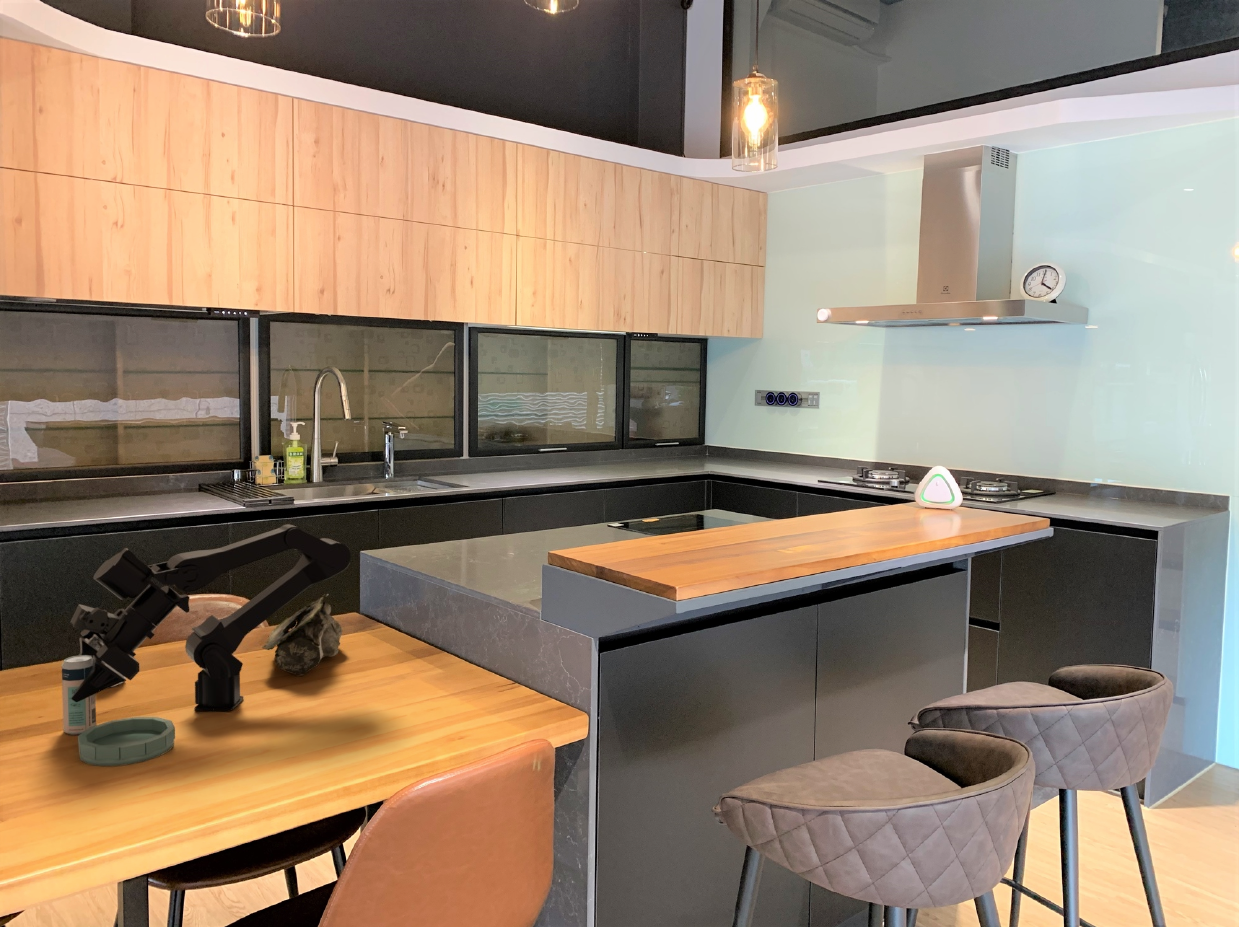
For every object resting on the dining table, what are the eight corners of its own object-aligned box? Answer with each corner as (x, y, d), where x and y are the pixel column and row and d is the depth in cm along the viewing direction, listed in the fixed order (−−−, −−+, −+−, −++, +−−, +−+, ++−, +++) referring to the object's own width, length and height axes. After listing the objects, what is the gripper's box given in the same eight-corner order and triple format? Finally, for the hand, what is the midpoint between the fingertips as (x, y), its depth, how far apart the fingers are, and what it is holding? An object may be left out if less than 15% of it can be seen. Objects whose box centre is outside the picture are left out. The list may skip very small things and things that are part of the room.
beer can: (89, 723, 156) (87, 652, 155) (101, 730, 153) (100, 658, 152) (57, 731, 152) (56, 658, 151) (69, 738, 149) (67, 664, 148)
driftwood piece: (292, 707, 179) (348, 652, 179) (242, 663, 177) (298, 607, 177) (323, 660, 207) (371, 612, 207) (280, 621, 205) (328, 573, 205)
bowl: (186, 733, 152) (186, 716, 152) (153, 765, 139) (152, 747, 139) (104, 733, 151) (103, 717, 151) (62, 766, 138) (61, 748, 138)
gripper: (93, 577, 160) (19, 650, 154) (115, 597, 145) (34, 679, 140) (145, 616, 166) (75, 688, 160) (170, 639, 151) (94, 720, 145)
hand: (69, 692), depth 151 cm, fingers open, 9 cm apart
